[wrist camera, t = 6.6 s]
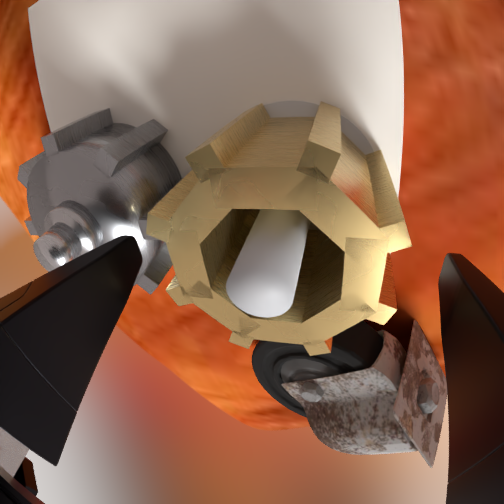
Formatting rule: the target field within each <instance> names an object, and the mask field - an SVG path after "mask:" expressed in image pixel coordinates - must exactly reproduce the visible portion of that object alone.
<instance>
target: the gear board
mask: <svg viewBox="0 0 504 504" xmlns="http://www.w3.org/2000/svg"><path fill="white" fill-rule="evenodd" d="M28 14H29V24H30V32H31V39H32V46H33V52H34V58H35V64H36V70H37V75H38V80H39V85H40V89H41V94H42V98H43V103H44V107H45V111H46V115H47V119H48V123H49V127H50V130H51V132H53V131H55V130H57V129H59V128H61V127H63V126H65V125H67V124H69V123H71V122H74V121H76V120H78V119H80V118H82V117H85V116H87V115H89V114H92V113H94V112H96V111H100V110H103V109H107V108H110V112H111V116H112V120H113V123H123V124H128V125H132V126H134V127H139V126H141V125H143V124H144V123H146V122H148V121H150V120H152V119H155V120H156V121H157V122H159V123H160V124H161V125H163V126H164V127H165V128H166V129H168V131H167V133H166V134H165V136H164V138H163V139H162V141H161V142H160V143H161V145H162V146H163V147H164V148H165V149H166V150H167V151H168V153H169V154H170V156H171V157H172V158H173V160H174V162H175V164H176V166H177V167H178V170H179V172H180V174H181V177H182V178H184V177H185V176H186V175H187V174H188V173H189V172H190V171H191V170H192V168H191V166H190V165H189V163H188V162H187V160H186V158H185V157H186V156H187V155H188V154H189V153H191V152H192V151H193V150H194V149H196V148H197V147H198V146H199V145H201V144H202V143H203V142H205V141H206V140H207V139H208V138H210V137H211V136H212V135H214V134H215V133H216V132H218V131H219V130H220V129H221V128H223V127H224V126H225V125H227V124H228V123H230V122H231V121H232V120H234V119H235V118H236V117H238V116H239V115H240V114H242V113H243V112H245V111H246V110H248V109H250V108H252V107H254V106H256V105H259V104H261V103H262V104H263V105H264V107H265V109H266V111H267V113H268V114H269V116H270V118H274V117H315V115H316V113H317V110H318V107H319V105H320V102H321V101H322V102H325V103H327V104H330V105H332V106H335V107H337V108H340V118H341V131H342V132H343V133H344V134H345V135H346V136H347V137H348V138H349V139H350V140H351V141H352V142H353V143H354V144H355V145H356V146H357V147H358V148H359V149H360V150H361V151H362V152H363V153H364V154H365V155H366V154H369V153H372V152H375V151H378V150H381V151H382V154H383V156H384V159H385V162H386V165H387V167H388V170H389V173H390V176H391V179H392V182H393V185H394V188H395V191H396V194H397V197H398V193H399V183H400V172H401V159H402V143H403V117H404V70H403V46H402V31H401V19H400V9H399V0H39V1H37V2H36V3H35V4H33V5H32V6H31V7H29V8H28ZM259 210H260V212H259V214H258V216H257V218H256V220H255V222H254V224H253V226H252V228H251V230H250V233H249V235H248V237H247V239H246V241H245V243H244V245H243V247H242V250H241V252H240V254H239V256H238V258H237V260H236V262H235V264H234V267H233V269H232V271H231V273H230V275H229V277H228V279H227V282H226V291H227V294H228V296H229V298H230V300H231V301H232V302H233V303H234V304H235V305H236V306H237V307H238V308H239V309H241V310H242V311H244V312H246V313H248V314H251V315H254V316H258V317H266V318H267V317H276V316H279V315H282V314H283V313H285V312H286V311H288V310H289V309H290V307H291V306H292V303H293V299H294V295H295V290H296V286H297V281H298V277H299V272H300V267H301V262H302V258H303V253H304V248H305V243H306V238H307V233H308V229H312V230H318V229H319V228H318V227H317V226H316V225H315V224H314V223H312V222H311V221H310V220H309V219H308V218H307V217H306V216H305V215H303V214H302V213H301V212H300V211H299V210H276V209H259ZM390 253H391V252H390Z"/></svg>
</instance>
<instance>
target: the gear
mask: <svg viewBox="0 0 504 504" xmlns="http://www.w3.org/2000/svg"><path fill="white" fill-rule="evenodd" d="M167 131H168V129H166V128H165V127H164V126H163V125H161V124H160V123H159V122H157V121H156V120H155V119H152V120H150V121H148V122H146V123H144V124H143V125H141V126H139V127H134V126H132V125H128V124H123V123H113V120H112V116H111V112H110V108H107V109H103V110H100V111H96V112H94V113H92V114H89V115H87V116H85V117H82V118H80V119H78V120H76V121H74V122H71V123H69V124H67V125H65V126H63V127H61V128H59V129H57V130H55V131H53V132H51V133H49V134H47V135H45V136H43V137H41V140H42V143H43V147H44V150H45V151H44V152H42V153H40V154H38V155H37V156H35V157H33V158H32V159H30V160H28V161H27V162H25V163H24V164H22V165H20V166H19V172H18V180H19V181H20V182H21V183H22V184H23V185H24V186H25V187H26V188H27V202H28V208H29V212H30V217H29V218H27V219H26V220H25V223H26V226H27V228H28V230H29V232H30V235H39V238H38V239H37V240H36V241H35V242H34V246H33V247H34V252H35V255H36V257H37V259H38V261H39V262H40V264H41V265H42V266H43V267H44V268H45V269H46V270H47V271H49V272H50V271H52V270H54V269H56V268H57V267H59V266H61V265H63V264H65V263H67V262H69V261H71V260H73V259H75V258H77V257H79V256H81V255H83V254H85V253H87V252H89V251H91V250H93V249H95V248H97V247H99V246H101V245H103V244H105V243H107V242H109V241H111V240H113V239H115V238H117V237H119V236H121V235H132V236H134V237H135V238H136V240H137V243H138V246H139V248H140V251H141V254H142V257H143V262H142V266H141V268H140V270H139V273H138V275H137V278H136V280H135V283H134V285H136V284H138V285H139V286H140V287H142V288H143V289H144V290H145V291H147V292H148V293H149V294H152V293H153V291H154V290H155V289H156V288H157V287H158V285H159V284H160V282H161V281H162V279H163V278H164V276H165V275H166V274H167V272H168V271H169V269H170V268H171V266H172V265H173V264H172V261H171V257H170V254H169V251H168V248H167V245H166V242H164V241H162V240H159V239H157V238H155V237H152V236H150V235H147V234H146V228H147V215H148V212H149V211H150V210H151V209H152V208H153V207H154V206H155V205H156V204H157V203H158V202H159V201H160V200H161V199H162V198H163V197H164V196H165V195H166V194H167V193H168V192H169V191H170V190H171V189H173V188H174V187H175V186H176V185H177V184H178V183H179V182H180V181H181V180H182V179H183V178H182V177H181V174H180V172H179V170H178V167H177V166H176V164H175V162H174V160H173V158H172V157H171V156H170V154H169V153H168V151H167V150H166V149H165V148H164V147H163V146H162V145H161V143H160V142H161V141H162V139H163V138H164V136H165V134H166V133H167ZM134 285H133V286H134Z"/></svg>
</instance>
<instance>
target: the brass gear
mask: <svg viewBox="0 0 504 504" xmlns="http://www.w3.org/2000/svg"><path fill="white" fill-rule="evenodd" d="M185 158H186V160H187V162H188V163H189V165H190V166H191V168H192V170H191V171H190V172H189V173H188V174H187V175H186V176H185V177H184V178H183V179H182V180H181V181H180V182H179V183H178V184H177V185H176V186H175V187H174V188H173V189H171V190H170V191H169V192H168V193H167V194H166V195H165V196H164V197H163V198H162V199H161V200H160V201H159V202H158V203H157V204H156V205H155V206H154V207H153V208H152V209H151V210H150V211H149V212H148V215H147V228H146V234H147V235H150V236H152V237H155V238H157V239H159V240H162V241H164V242H166V245H167V248H168V251H169V254H170V257H171V261H172V264H173V267H174V270H175V273H176V275H175V277H174V278H173V280H172V281H171V283H170V284H169V286H168V287H167V289H166V291H167V292H168V294H169V295H170V296H171V297H172V299H173V300H174V301H175V302H176V304H177V305H178V306H182V305H186V304H191V303H194V304H195V305H196V306H198V307H199V308H200V309H202V310H203V311H205V312H206V313H207V314H209V315H210V316H212V317H213V318H214V319H216V320H217V321H219V322H220V323H221V324H223V325H224V326H226V327H227V328H229V329H230V330H231V331H233V332H232V334H231V337H230V339H229V342H232V343H234V344H237V345H239V346H242V347H245V348H247V349H249V347H250V345H251V343H252V341H253V339H256V340H264V341H273V342H282V343H292V344H302V345H304V347H305V349H306V350H307V352H308V353H309V355H310V356H313V355H319V354H326V353H331V346H332V337H333V336H335V335H337V334H339V333H340V332H342V331H344V330H346V329H348V328H350V327H352V326H353V325H355V324H357V323H359V322H361V321H362V320H364V319H367V320H370V321H373V322H376V323H379V324H381V325H385V323H386V322H387V321H388V320H389V319H390V318H391V316H392V315H393V314H394V313H395V312H396V311H397V303H396V294H395V286H394V278H393V271H392V264H391V257H390V252H394V251H397V250H401V249H404V248H407V247H411V246H412V245H411V241H410V237H409V234H408V230H407V227H406V223H405V220H404V216H403V213H402V210H401V206H400V203H399V200H398V197H397V194H396V191H395V188H394V185H393V182H392V179H391V176H390V173H389V170H388V167H387V165H386V162H385V159H384V156H383V154H382V151H381V150H378V151H375V152H372V153H369V154H366V155H365V154H364V153H363V152H362V151H361V150H360V149H359V148H358V147H357V146H356V145H355V144H354V143H353V142H352V141H351V140H350V139H349V138H348V137H347V136H346V135H345V134H344V133H343V132H342V131H341V118H340V108H337V107H335V106H332V105H330V104H327V103H325V102H322V101H321V102H320V105H319V107H318V110H317V113H316V115H315V117H274V118H270V116H269V114H268V113H267V111H266V109H265V107H264V105H263V104H262V103H261V104H259V105H256V106H254V107H252V108H250V109H248V110H246V111H245V112H243V113H242V114H240V115H239V116H238V117H236V118H235V119H234V120H232V121H231V122H230V123H228V124H227V125H225V126H224V127H223V128H221V129H220V130H219V131H218V132H216V133H215V134H214V135H212V136H211V137H210V138H208V139H207V140H206V141H205V142H203V143H202V144H201V145H199V146H198V147H197V148H196V149H194V150H193V151H192V152H191V153H189V154H188V155H187V156H186V157H185ZM259 209H276V210H299V211H300V212H301V213H302V214H303V215H305V216H306V217H307V218H308V219H309V220H310V221H311V222H312V223H314V224H315V225H316V226H317V227H318V228H319V229H318V230H312V229H308V233H307V238H306V243H305V248H304V253H303V258H302V262H301V267H300V272H299V277H298V281H297V286H296V290H295V295H294V299H293V303H292V306H291V307H290V309H289V310H288V311H286V312H285V313H283V314H282V315H279V316H276V317H267V318H266V317H258V316H254V315H251V314H248V313H246V312H244V311H242V310H241V309H239V308H238V307H237V306H236V305H235V304H234V303H233V302H232V301H231V300H230V298H229V296H228V294H227V291H226V282H227V279H228V277H229V275H230V273H231V271H232V269H233V267H234V264H235V262H236V260H237V258H238V256H239V254H240V252H241V250H242V247H243V245H244V243H245V241H246V239H247V237H248V235H249V233H250V230H251V228H252V226H253V224H254V222H255V220H256V218H257V216H258V214H259V212H260V210H259Z"/></svg>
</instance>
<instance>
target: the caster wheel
mask: <svg viewBox="0 0 504 504" xmlns="http://www.w3.org/2000/svg"><path fill="white" fill-rule="evenodd" d="M252 365H253V370H254V372H255V375H256V377H257V379H258V381H259V382H260V384H261V385H262V386H263V388H264V389H265V390H266V391H267V392H268V393H269V394H270V395H271V396H272V397H273V398H274V399H276V400H277V401H278V402H279V403H281V404H282V405H284V406H285V407H287V408H288V409H290V410H292V411H294V412H296V413H298V414H300V415H302V416H304V417H307V419H308V422H309V424H310V427H311V428H312V430H313V432H314V433H315V435H316V436H317V438H318V439H319V440H320V441H321V442H323V443H324V444H325V445H327V446H328V447H330V448H332V449H334V450H337V451H340V452H343V453H348V454H358V455H369V454H388V453H403V452H413V451H419V452H420V454H421V455H422V457H423V458H424V459H425V461H426V462H427V464H428V465H429V466H430V467H431V468H432V467H433V464H434V460H435V455H436V451H437V447H438V443H439V438H440V432H441V428H442V422H443V417H444V411H445V404H446V399H447V382H446V378H445V376H444V373H443V371H442V369H441V367H440V365H439V363H438V361H437V359H436V357H435V355H434V353H433V351H432V349H431V347H430V345H429V343H428V341H427V339H426V337H425V336H424V334H423V332H422V330H421V328H420V326H419V324H418V322H417V321H416V320H415V319H414V322H413V328H412V333H411V338H410V343H409V348H408V352H407V353H406V351H405V349H404V348H403V346H402V345H401V343H400V342H399V341H398V340H397V339H396V338H395V337H394V336H392V335H391V334H389V333H388V332H386V331H385V330H380V331H376V330H374V329H373V328H372V327H371V326H369V325H368V324H367V323H366V322H364V321H361V322H359V323H357V324H355V325H353V326H352V327H350V328H348V329H346V330H344V331H342V332H340V333H339V334H337V335H335V336H333V337H332V346H331V353H326V354H319V355H313V356H310V355H309V353H308V352H307V350H306V349H305V347H304V345H302V344H292V343H282V342H273V341H264V340H260V341H259V342H258V344H257V345H256V347H255V349H254V351H253V354H252Z"/></svg>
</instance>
